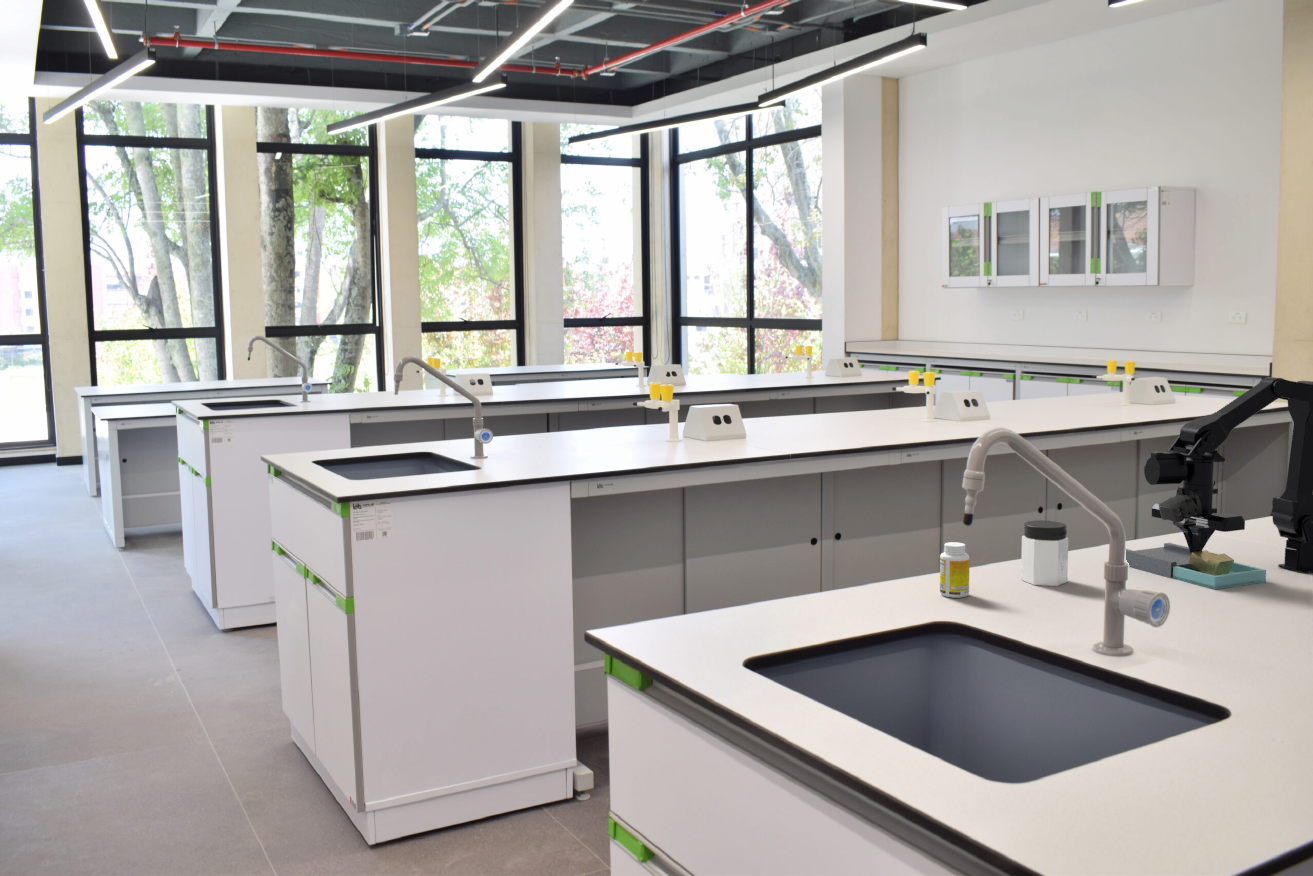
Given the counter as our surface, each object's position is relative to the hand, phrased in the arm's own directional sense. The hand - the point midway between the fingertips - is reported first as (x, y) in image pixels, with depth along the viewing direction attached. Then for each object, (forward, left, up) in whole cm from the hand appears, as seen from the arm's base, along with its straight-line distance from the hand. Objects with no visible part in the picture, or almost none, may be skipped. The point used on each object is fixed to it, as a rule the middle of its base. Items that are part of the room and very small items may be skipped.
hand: (1194, 557), depth 218 cm
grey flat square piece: (0, -6, -4) cm, 7 cm away
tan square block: (0, +2, -2) cm, 3 cm away
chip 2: (0, +5, 0) cm, 5 cm away
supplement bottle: (+55, -7, -4) cm, 56 cm away
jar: (+32, -8, -4) cm, 33 cm away
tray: (0, +6, -4) cm, 7 cm away
